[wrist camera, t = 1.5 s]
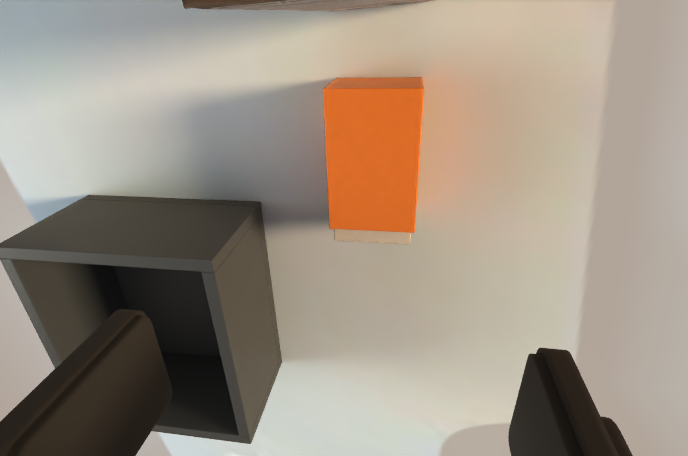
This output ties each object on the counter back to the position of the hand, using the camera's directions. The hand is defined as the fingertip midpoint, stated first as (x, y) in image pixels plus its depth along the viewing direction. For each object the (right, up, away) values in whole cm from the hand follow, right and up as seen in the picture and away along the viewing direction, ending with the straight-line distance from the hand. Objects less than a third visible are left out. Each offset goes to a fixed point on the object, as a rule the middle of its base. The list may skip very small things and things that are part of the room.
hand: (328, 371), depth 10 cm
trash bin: (-12, -1, +23) cm, 26 cm away
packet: (+2, +9, +15) cm, 18 cm away
